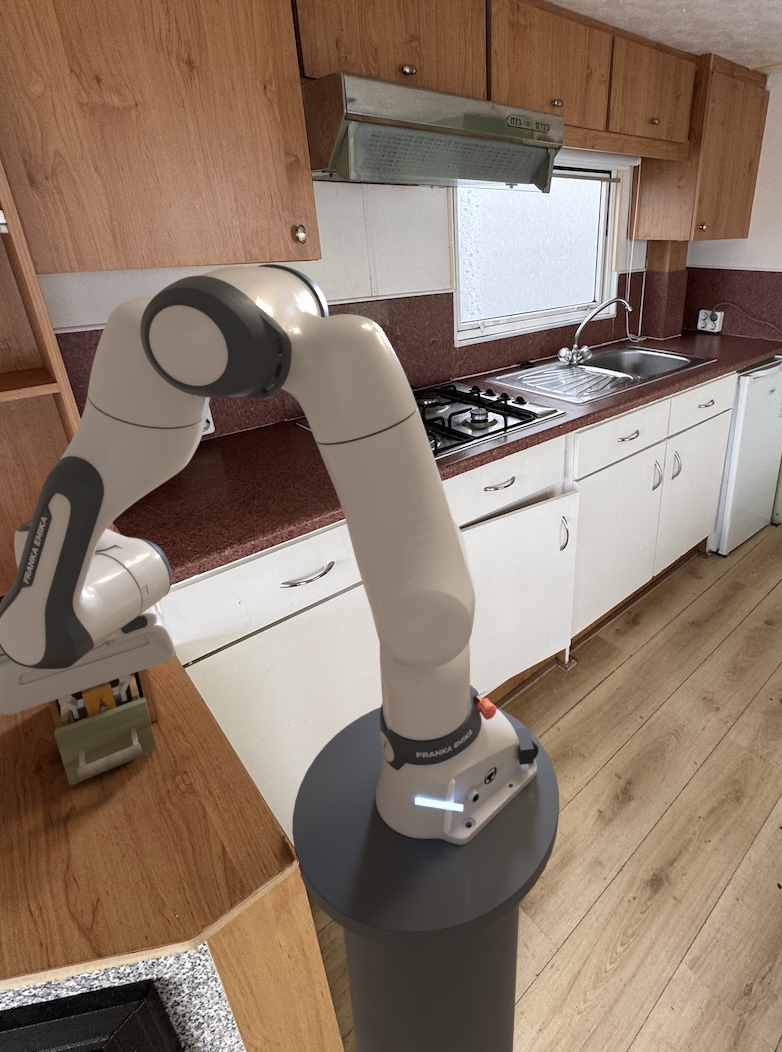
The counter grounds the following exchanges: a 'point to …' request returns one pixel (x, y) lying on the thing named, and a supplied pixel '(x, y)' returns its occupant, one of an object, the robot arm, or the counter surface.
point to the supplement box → (98, 699)
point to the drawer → (105, 736)
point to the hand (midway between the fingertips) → (101, 706)
